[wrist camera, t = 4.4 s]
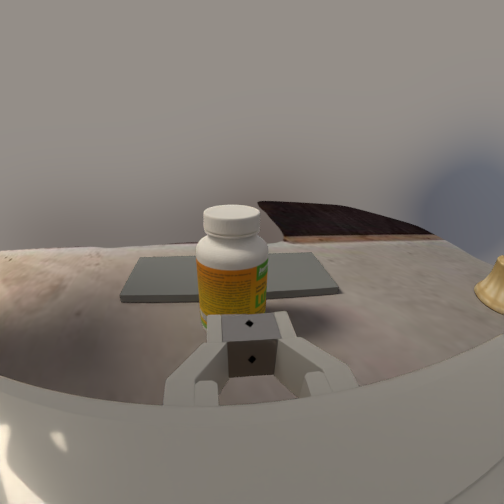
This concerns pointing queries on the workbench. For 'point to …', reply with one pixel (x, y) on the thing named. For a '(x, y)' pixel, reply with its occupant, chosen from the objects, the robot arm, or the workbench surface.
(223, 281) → the supplement bottle
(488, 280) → the hand bell
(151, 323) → the workbench surface
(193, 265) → the mat
